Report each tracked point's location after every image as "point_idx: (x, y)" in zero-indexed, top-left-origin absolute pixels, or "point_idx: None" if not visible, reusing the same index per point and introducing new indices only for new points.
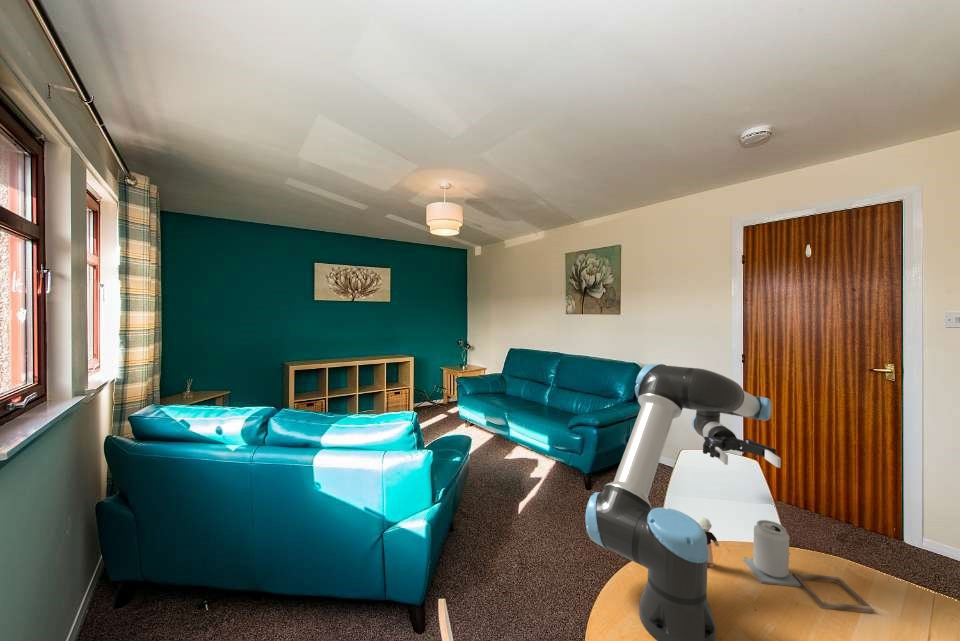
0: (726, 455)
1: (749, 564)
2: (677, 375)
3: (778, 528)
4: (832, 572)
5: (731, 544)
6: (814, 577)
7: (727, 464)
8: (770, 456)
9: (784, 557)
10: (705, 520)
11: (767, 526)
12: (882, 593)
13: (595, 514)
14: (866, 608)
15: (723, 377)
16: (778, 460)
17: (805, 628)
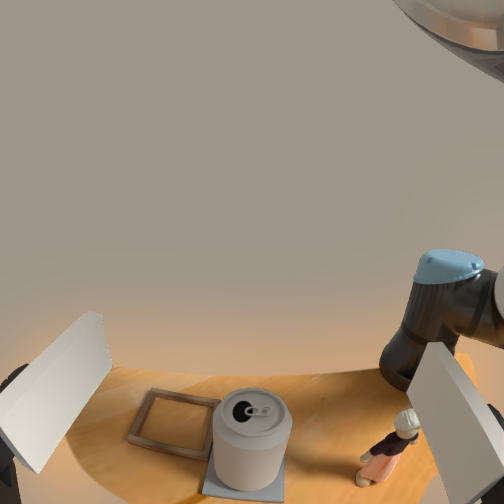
0: (435, 342)
1: (282, 482)
2: None
3: (217, 434)
4: (114, 458)
5: None
6: (172, 446)
7: (407, 392)
8: (60, 384)
9: (241, 419)
10: (413, 409)
11: (259, 418)
12: (92, 411)
13: None
14: (160, 389)
15: None
16: (100, 326)
17: (272, 379)
